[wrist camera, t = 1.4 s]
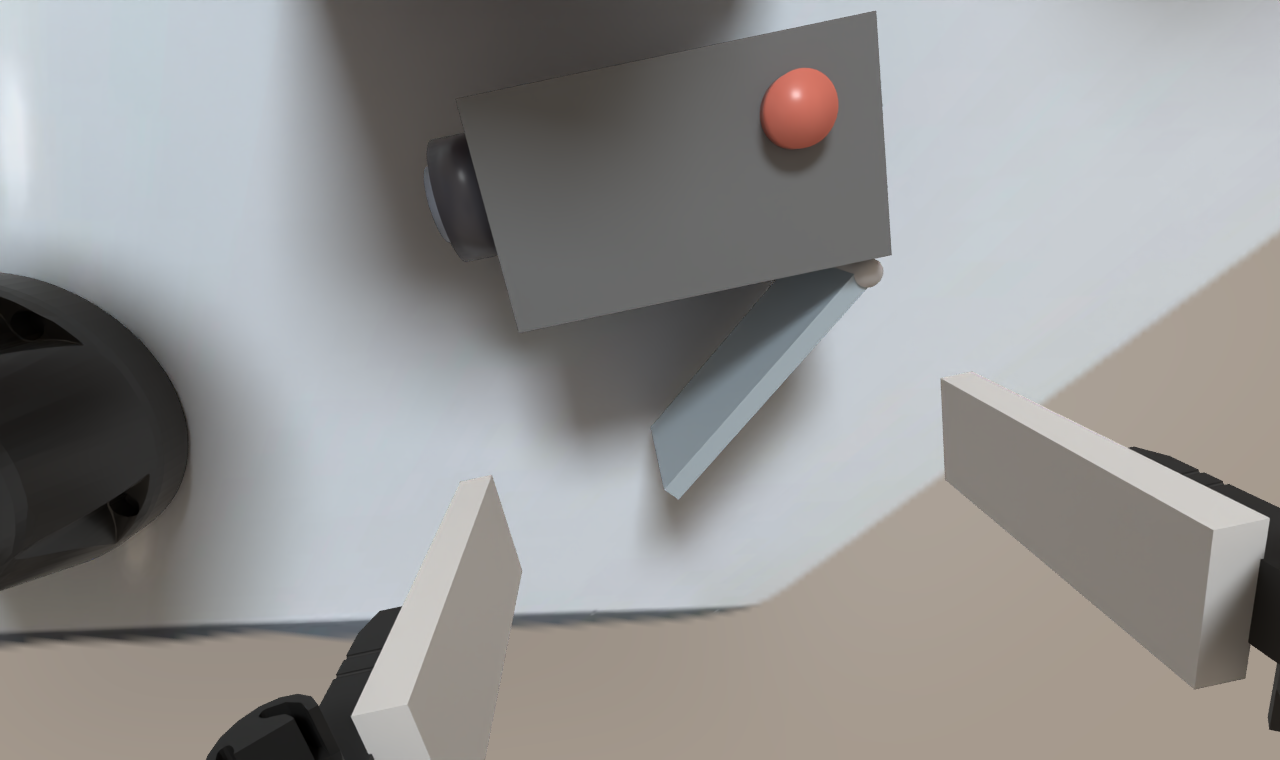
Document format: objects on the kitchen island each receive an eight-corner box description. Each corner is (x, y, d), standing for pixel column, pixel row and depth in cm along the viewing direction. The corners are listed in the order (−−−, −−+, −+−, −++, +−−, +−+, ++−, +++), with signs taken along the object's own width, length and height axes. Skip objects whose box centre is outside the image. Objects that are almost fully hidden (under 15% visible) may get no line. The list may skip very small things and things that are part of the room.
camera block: (494, 305, 31) (448, 356, 21) (447, 136, 28) (371, 111, 19) (809, 239, 31) (902, 261, 21) (791, 64, 28) (887, 3, 19)
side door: (669, 439, 32) (687, 507, 26) (648, 424, 32) (661, 488, 25) (827, 256, 30) (895, 276, 23) (807, 237, 30) (869, 252, 23)
